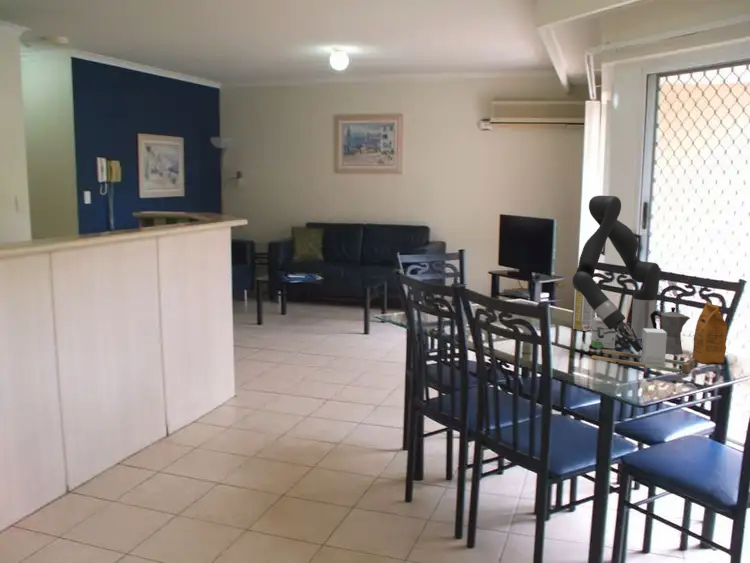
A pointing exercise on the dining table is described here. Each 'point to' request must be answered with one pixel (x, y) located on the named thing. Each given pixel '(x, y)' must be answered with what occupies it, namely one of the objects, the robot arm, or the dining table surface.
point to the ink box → (602, 335)
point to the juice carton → (582, 312)
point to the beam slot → (685, 365)
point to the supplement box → (653, 346)
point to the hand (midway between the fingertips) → (640, 350)
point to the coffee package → (710, 336)
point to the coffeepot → (671, 329)
